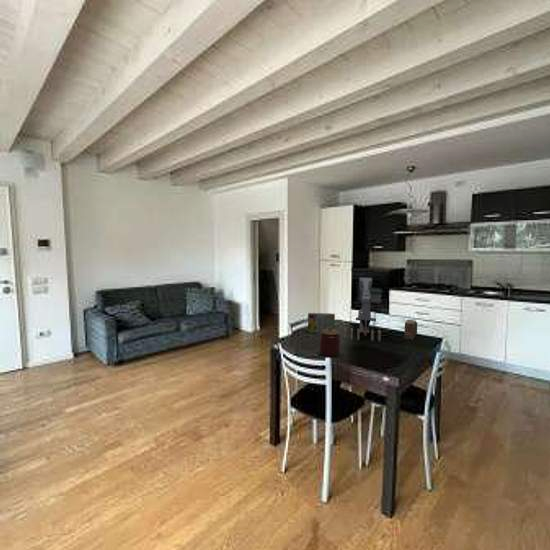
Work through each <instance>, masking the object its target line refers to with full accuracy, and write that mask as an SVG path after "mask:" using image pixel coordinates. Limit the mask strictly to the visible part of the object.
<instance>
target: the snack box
mask: <svg viewBox="0 0 550 550" xmlns="http://www.w3.org/2000/svg"><path fill="white" fill-rule="evenodd" d="M335 321H336V315H335V313H329V312H328V313H322V312H321V313H319V312H318V313H317V312H308V313H307V332H308V333H317V334H318V333H320V334H322V332H321V331H322V330H324V329H328V328H329V327H332V329H335V330H336V327H335Z"/></svg>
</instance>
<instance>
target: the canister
mask: <svg viewBox="0 0 550 550" xmlns="http://www.w3.org/2000/svg"><path fill="white" fill-rule="evenodd" d="M321 332H322V333H320V334H319V336H320V339H319V353H320V354H321V355H323V356H326V357H337V356H339V355H340V353H341V348H340V347H341V345H340V344H341V339H340V338H341V335H340V331H339V330H338V329H336V328H335V329H332V327H329V328H328V329H324V330H322V331H321Z"/></svg>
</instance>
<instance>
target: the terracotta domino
mask: <svg viewBox="0 0 550 550" xmlns="http://www.w3.org/2000/svg"><path fill="white" fill-rule="evenodd" d="M363 334H364V336H366V337H367V335H368V334H367V325H365V330H364V332H363Z"/></svg>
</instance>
